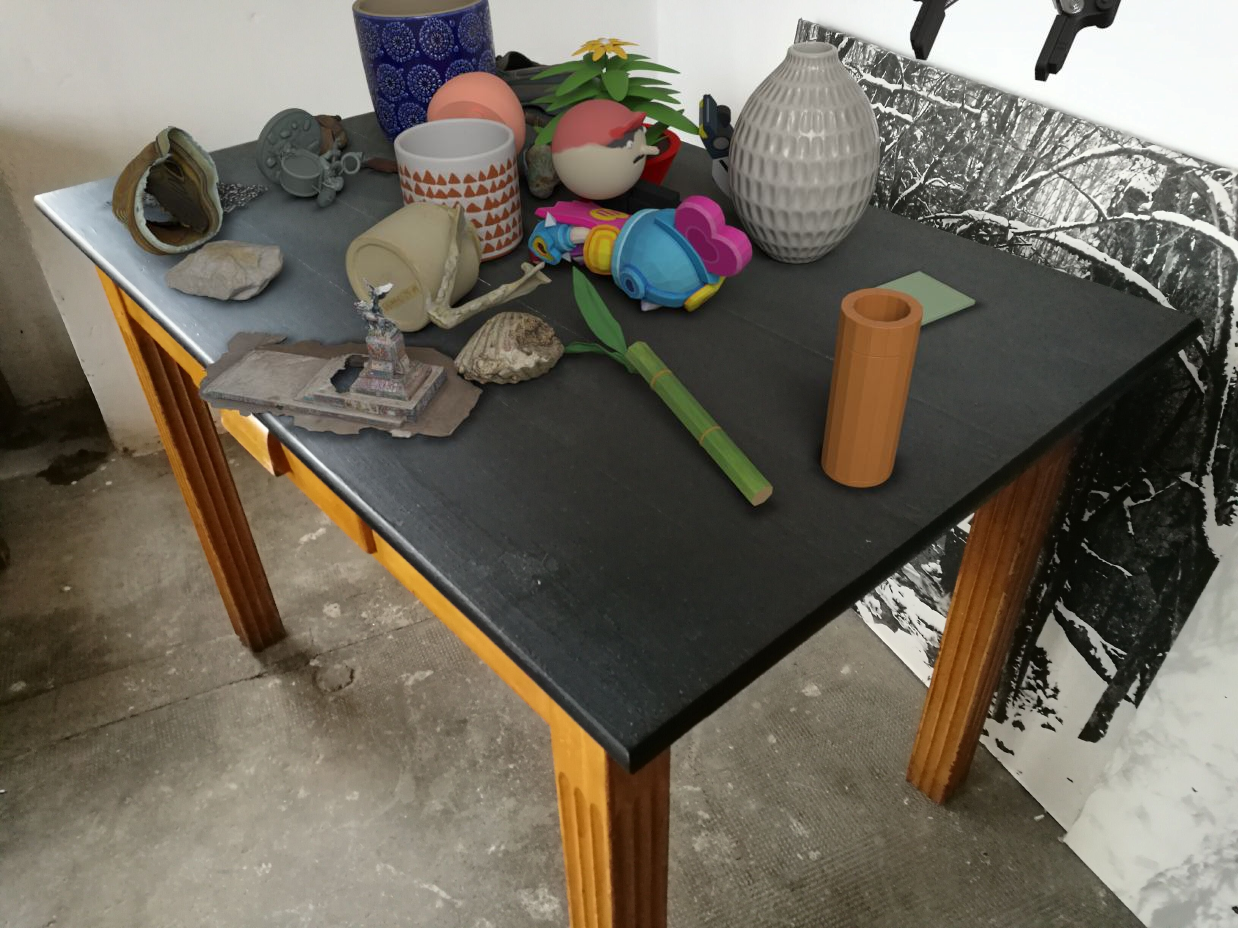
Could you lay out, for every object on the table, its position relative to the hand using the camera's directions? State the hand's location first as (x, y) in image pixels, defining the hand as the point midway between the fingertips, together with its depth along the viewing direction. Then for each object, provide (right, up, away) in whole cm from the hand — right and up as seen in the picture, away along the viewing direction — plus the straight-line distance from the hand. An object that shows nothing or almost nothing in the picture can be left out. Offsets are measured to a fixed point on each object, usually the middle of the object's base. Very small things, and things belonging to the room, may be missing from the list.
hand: (978, 65), depth 64 cm
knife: (-53, +9, +60) cm, 81 cm away
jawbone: (-40, -13, +26) cm, 50 cm away
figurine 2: (-73, +21, +73) cm, 105 cm away
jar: (-5, -28, +12) cm, 31 cm away
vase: (-5, -3, +42) cm, 43 cm away
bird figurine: (-33, +23, +66) cm, 78 cm away
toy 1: (-26, +1, +36) cm, 44 cm away
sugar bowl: (-51, -10, +29) cm, 59 cm away
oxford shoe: (-78, +7, +48) cm, 92 cm away
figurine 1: (-71, +16, +61) cm, 95 cm away
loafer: (-39, +31, +87) cm, 101 cm away
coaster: (+7, -11, +33) cm, 35 cm away
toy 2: (-15, -3, +38) cm, 41 cm away
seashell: (-32, -16, +20) cm, 41 cm away
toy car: (-10, +9, +45) cm, 46 cm away
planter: (-51, +19, +72) cm, 90 cm away
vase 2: (-44, -1, +48) cm, 65 cm away
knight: (-34, -1, +42) cm, 54 cm away
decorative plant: (-21, -24, +19) cm, 37 cm away
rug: (-85, +10, +61) cm, 105 cm away
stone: (-67, -2, +43) cm, 79 cm away
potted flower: (-26, +5, +54) cm, 60 cm away
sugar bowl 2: (-43, +11, +48) cm, 66 cm away
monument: (-53, -20, +25) cm, 62 cm away
